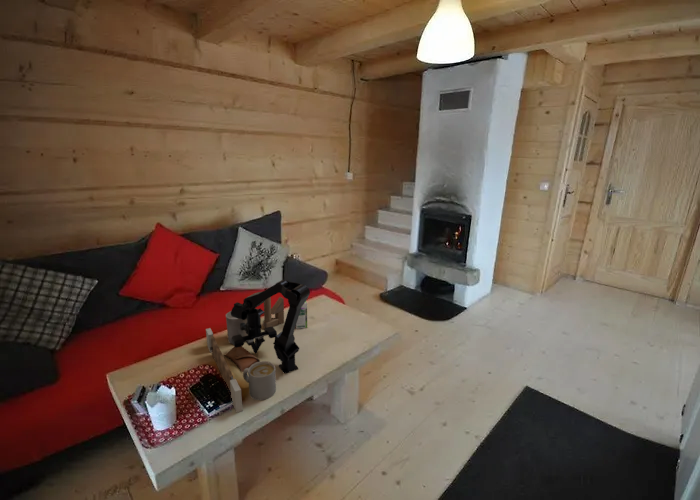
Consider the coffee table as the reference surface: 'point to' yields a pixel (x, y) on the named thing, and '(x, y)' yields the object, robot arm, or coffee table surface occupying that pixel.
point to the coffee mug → (261, 380)
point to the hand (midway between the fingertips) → (255, 353)
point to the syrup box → (302, 317)
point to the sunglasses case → (241, 357)
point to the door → (221, 362)
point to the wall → (233, 383)
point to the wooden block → (276, 309)
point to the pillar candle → (234, 327)
